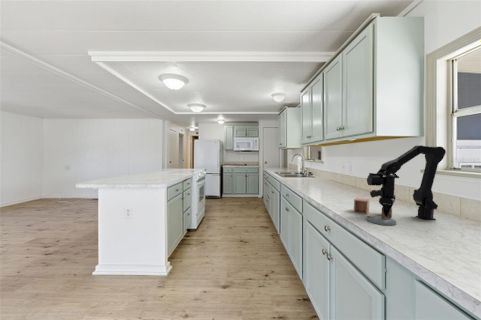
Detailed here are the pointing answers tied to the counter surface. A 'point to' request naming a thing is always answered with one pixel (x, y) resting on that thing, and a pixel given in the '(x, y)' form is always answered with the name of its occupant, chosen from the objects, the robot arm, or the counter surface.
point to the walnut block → (388, 213)
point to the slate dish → (381, 220)
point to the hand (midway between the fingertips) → (386, 213)
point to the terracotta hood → (361, 204)
